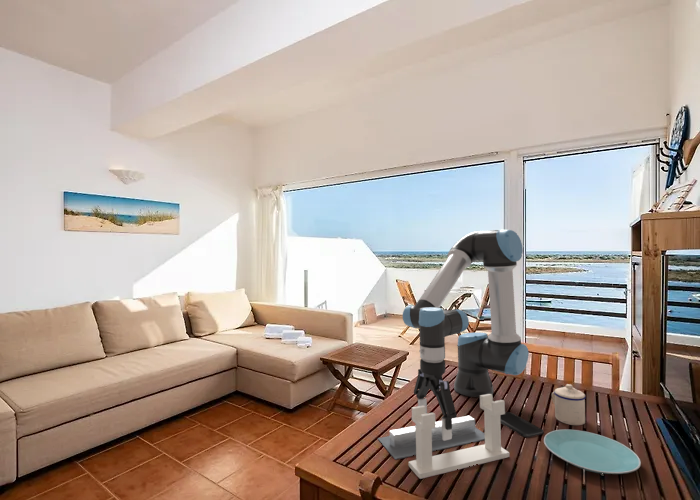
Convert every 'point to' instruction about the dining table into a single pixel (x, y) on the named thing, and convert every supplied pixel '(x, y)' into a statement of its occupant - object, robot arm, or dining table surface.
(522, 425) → the phone
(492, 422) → the rail cradle stand
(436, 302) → the robot arm
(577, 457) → the plate
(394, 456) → the slate mat
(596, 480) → the dining table surface
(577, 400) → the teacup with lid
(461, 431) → the steel rail
